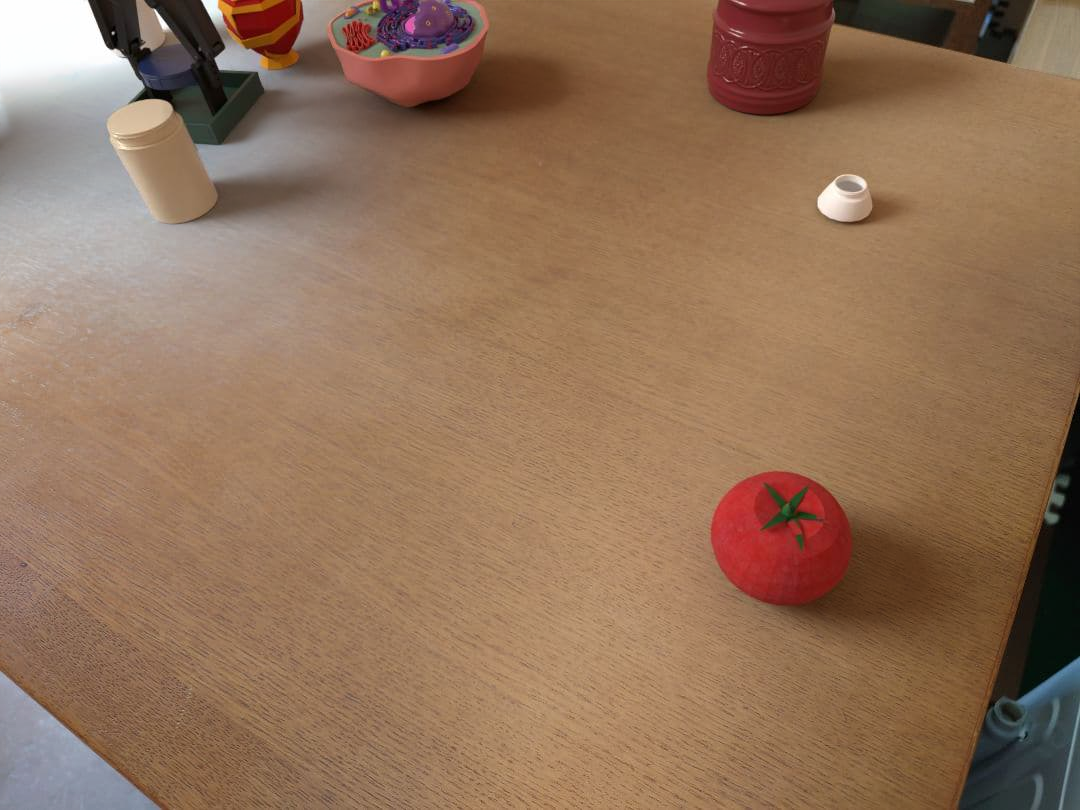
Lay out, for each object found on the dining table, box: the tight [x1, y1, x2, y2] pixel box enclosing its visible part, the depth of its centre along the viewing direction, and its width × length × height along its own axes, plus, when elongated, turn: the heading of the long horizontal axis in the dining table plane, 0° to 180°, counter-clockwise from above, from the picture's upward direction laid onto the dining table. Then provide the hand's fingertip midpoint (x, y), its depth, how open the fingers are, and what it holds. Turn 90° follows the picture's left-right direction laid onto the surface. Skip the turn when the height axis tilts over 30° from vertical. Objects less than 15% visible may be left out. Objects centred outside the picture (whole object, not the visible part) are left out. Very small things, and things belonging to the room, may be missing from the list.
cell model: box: [326, 0, 490, 108], centre depth 92 cm, size 17×20×11 cm
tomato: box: [710, 470, 853, 607], centre depth 50 cm, size 9×9×8 cm
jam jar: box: [106, 99, 219, 225], centre depth 81 cm, size 7×7×10 cm
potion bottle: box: [217, 0, 305, 71], centre depth 98 cm, size 10×10×15 cm
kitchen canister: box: [706, 0, 836, 115], centre depth 84 cm, size 13×13×18 cm
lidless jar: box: [817, 173, 873, 223], centre depth 75 cm, size 5×3×5 cm
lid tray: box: [126, 69, 265, 146], centre depth 96 cm, size 13×12×3 cm
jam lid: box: [138, 43, 201, 90], centre depth 92 cm, size 8×8×2 cm
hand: (192, 107), depth 96 cm, fingers closed on jam lid, 8 cm apart
